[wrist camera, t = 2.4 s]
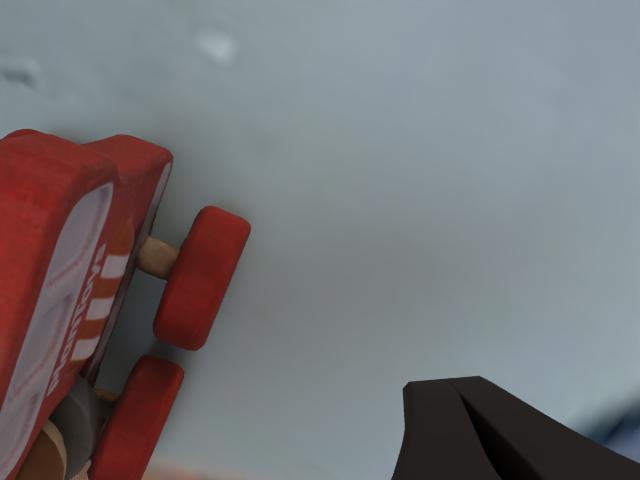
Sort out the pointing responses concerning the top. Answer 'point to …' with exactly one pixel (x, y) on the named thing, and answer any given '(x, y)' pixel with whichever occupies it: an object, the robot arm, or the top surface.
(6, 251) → the toy fire truck
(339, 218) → the top surface
